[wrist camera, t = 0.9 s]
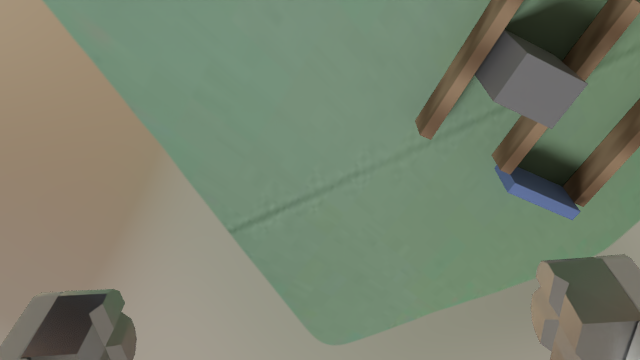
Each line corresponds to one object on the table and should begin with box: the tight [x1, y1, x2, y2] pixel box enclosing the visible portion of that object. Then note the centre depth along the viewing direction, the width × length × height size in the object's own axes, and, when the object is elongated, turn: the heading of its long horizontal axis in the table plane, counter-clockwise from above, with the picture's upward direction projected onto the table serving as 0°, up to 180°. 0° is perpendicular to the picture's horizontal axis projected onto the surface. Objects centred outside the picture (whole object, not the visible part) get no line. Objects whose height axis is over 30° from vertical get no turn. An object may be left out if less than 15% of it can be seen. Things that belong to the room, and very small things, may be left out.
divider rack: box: [415, 0, 640, 220], centre depth 46 cm, size 19×20×4 cm
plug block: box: [475, 29, 588, 129], centre depth 44 cm, size 4×6×7 cm
